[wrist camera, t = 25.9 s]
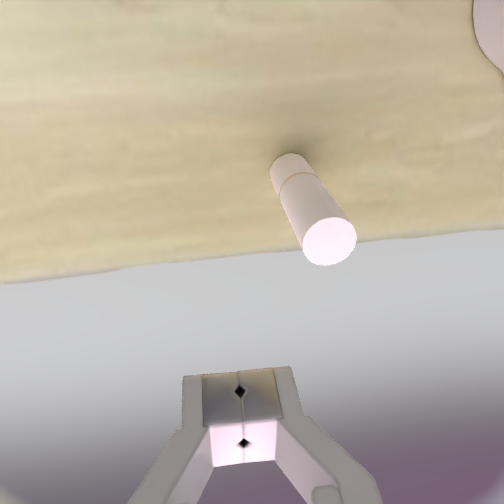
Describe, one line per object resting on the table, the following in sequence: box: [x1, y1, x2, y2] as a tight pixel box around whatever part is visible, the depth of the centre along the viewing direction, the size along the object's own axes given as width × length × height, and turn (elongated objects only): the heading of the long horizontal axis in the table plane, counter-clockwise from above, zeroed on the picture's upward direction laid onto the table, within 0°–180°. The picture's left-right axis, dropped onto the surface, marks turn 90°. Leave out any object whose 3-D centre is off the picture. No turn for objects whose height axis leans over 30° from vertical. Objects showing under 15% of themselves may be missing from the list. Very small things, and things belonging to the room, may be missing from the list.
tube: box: [270, 153, 357, 266], centre depth 39 cm, size 4×4×15 cm
